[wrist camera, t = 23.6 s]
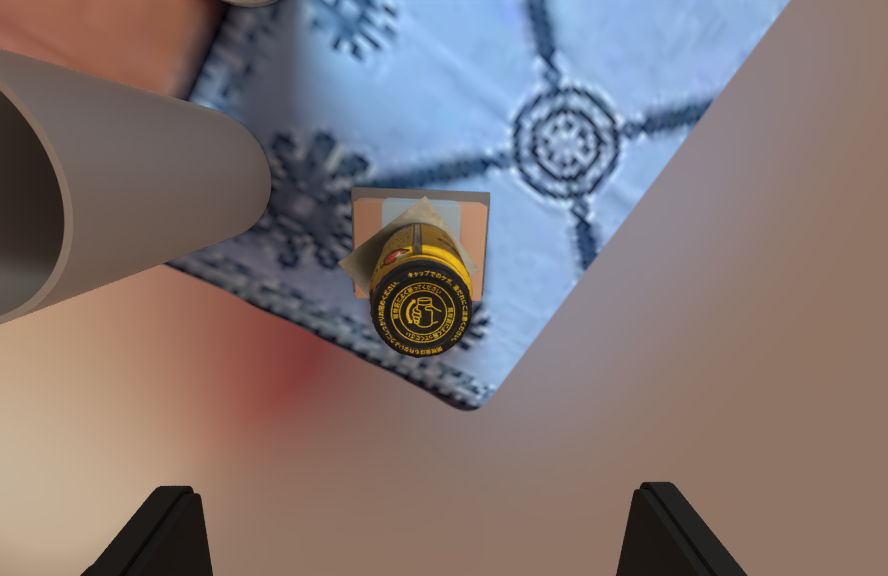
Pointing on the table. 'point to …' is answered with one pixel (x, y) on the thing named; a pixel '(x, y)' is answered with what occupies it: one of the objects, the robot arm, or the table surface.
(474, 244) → the brick
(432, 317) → the condiment
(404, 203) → the brick
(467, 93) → the table surface
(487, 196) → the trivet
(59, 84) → the cylinder vase
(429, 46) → the table surface
